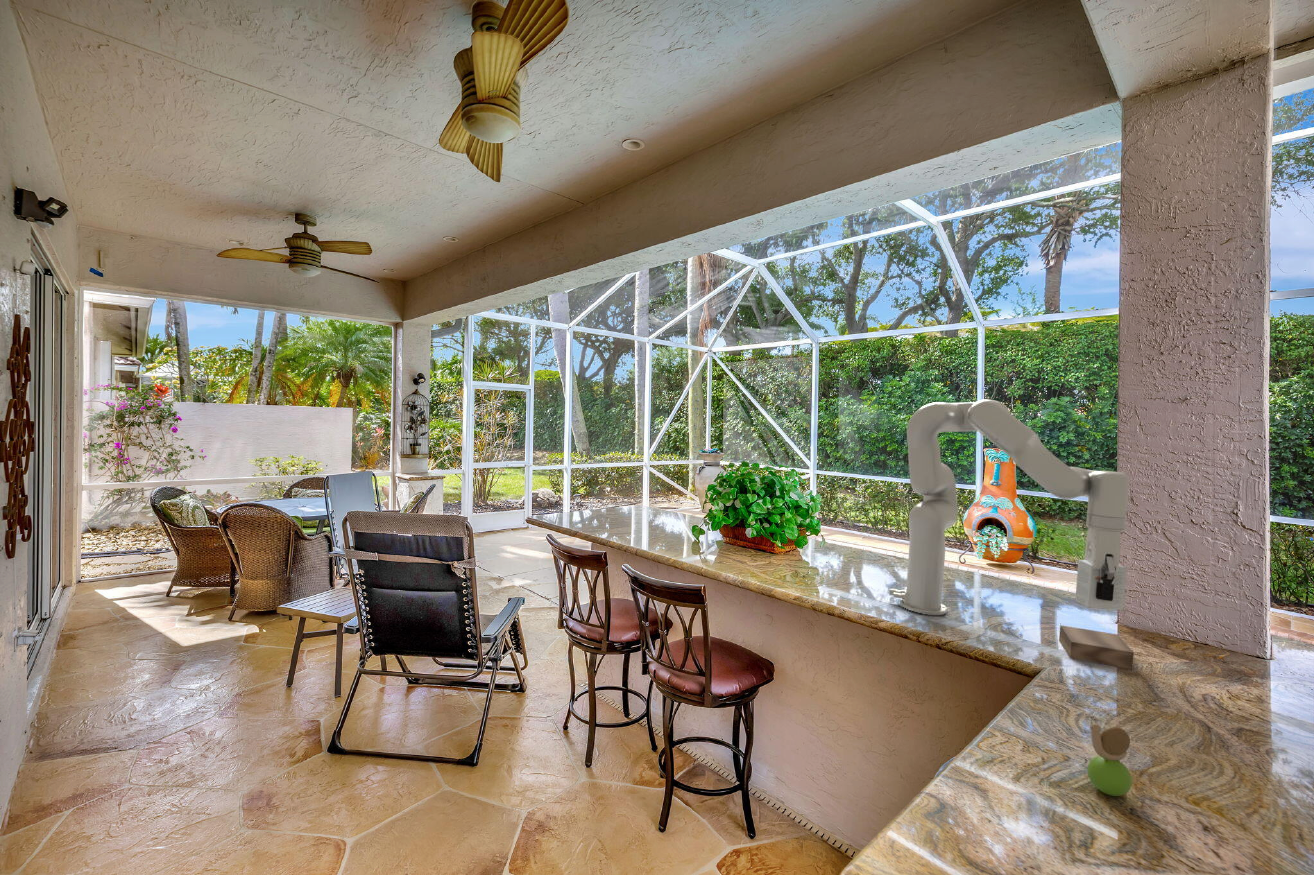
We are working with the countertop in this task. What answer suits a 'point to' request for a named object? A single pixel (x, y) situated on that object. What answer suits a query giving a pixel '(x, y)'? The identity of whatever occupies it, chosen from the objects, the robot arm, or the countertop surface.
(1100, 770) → the snail figurine
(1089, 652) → the walnut plinth
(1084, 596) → the small box
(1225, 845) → the countertop surface
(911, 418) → the robot arm
